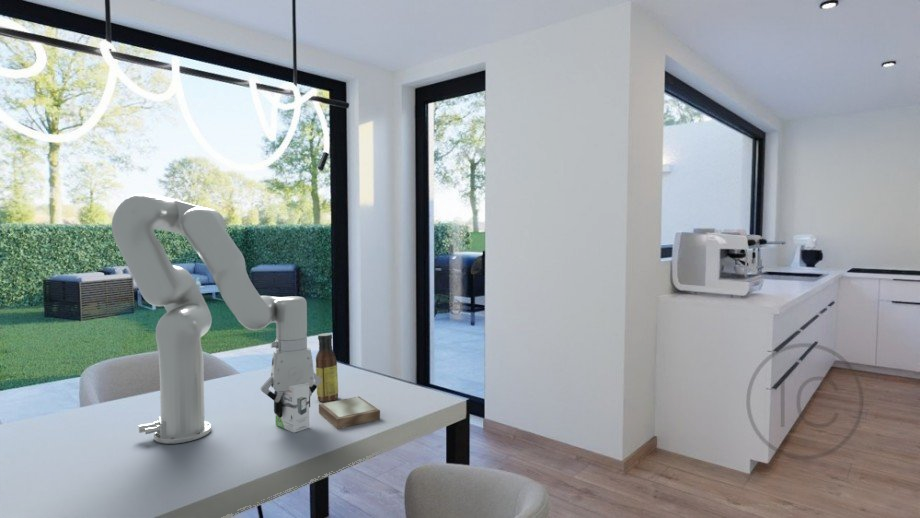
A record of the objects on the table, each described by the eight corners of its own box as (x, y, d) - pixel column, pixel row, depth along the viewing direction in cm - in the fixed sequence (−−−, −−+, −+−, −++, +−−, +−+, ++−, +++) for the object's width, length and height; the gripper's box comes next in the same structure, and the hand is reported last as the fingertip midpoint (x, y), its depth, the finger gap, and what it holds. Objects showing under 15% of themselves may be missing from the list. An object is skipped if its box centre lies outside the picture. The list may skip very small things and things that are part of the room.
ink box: (274, 425, 132) (274, 380, 131) (291, 419, 136) (290, 376, 135) (293, 433, 126) (293, 387, 126) (310, 427, 130) (310, 382, 130)
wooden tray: (337, 428, 129) (337, 418, 129) (318, 412, 141) (318, 403, 141) (379, 419, 136) (379, 409, 136) (359, 404, 148) (359, 395, 148)
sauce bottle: (341, 396, 155) (340, 332, 154) (334, 403, 149) (333, 336, 148) (320, 395, 156) (320, 331, 155) (312, 402, 150) (312, 336, 149)
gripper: (260, 351, 122) (261, 424, 123) (329, 343, 132) (329, 411, 133) (253, 345, 128) (254, 415, 129) (319, 338, 138) (320, 403, 139)
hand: (292, 412), depth 131 cm, fingers closed on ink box, 6 cm apart
